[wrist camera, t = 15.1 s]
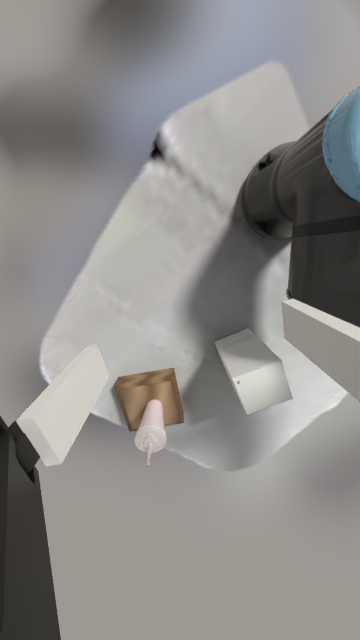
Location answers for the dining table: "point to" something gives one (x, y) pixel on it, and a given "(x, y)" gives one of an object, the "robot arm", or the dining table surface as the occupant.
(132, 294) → the dining table surface
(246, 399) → the supplement box
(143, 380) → the walnut tray
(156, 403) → the smoothie
